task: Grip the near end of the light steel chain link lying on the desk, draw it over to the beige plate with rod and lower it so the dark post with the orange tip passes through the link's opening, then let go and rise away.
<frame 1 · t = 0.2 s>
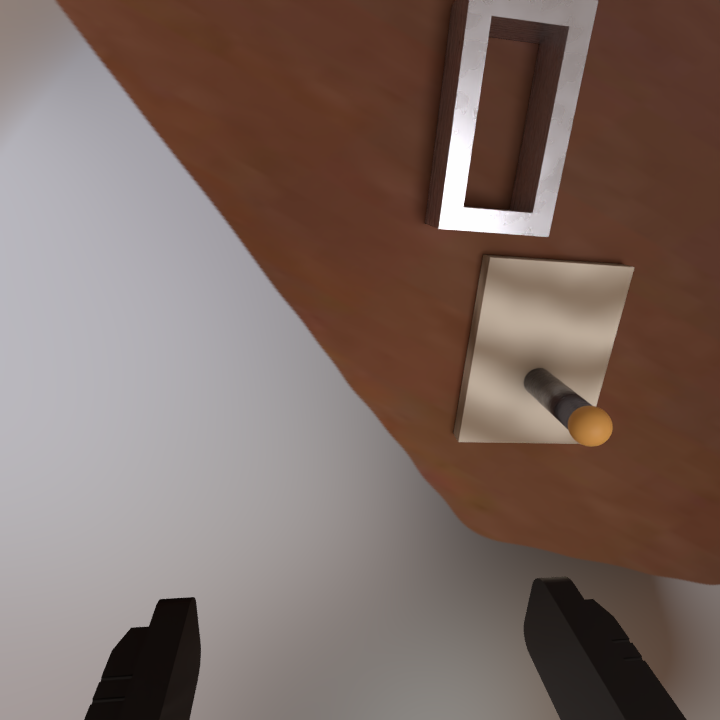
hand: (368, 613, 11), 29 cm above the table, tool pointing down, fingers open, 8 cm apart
beige plate with rod: (534, 352, 41), on the table
steel link: (491, 127, 35), on the table
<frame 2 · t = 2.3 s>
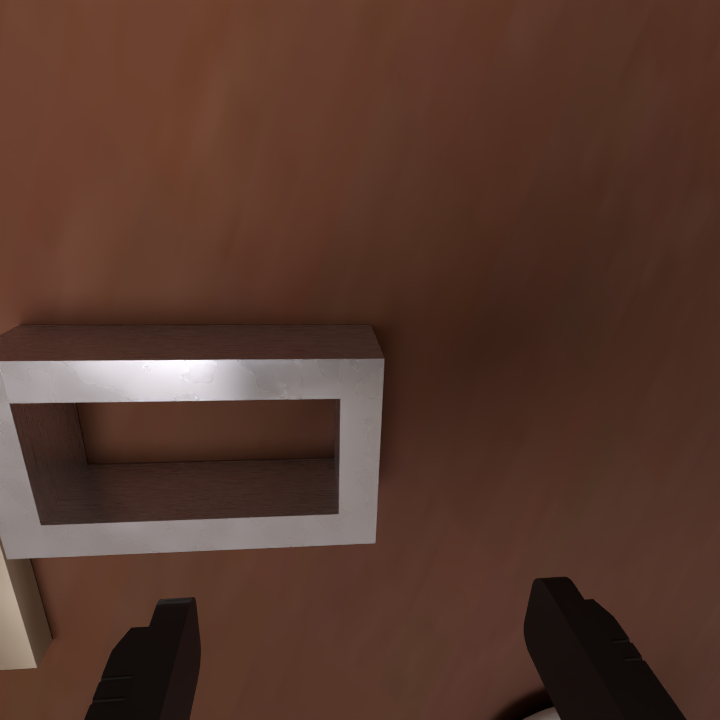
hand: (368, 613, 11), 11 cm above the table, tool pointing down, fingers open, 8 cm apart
steel link: (209, 412, 21), on the table
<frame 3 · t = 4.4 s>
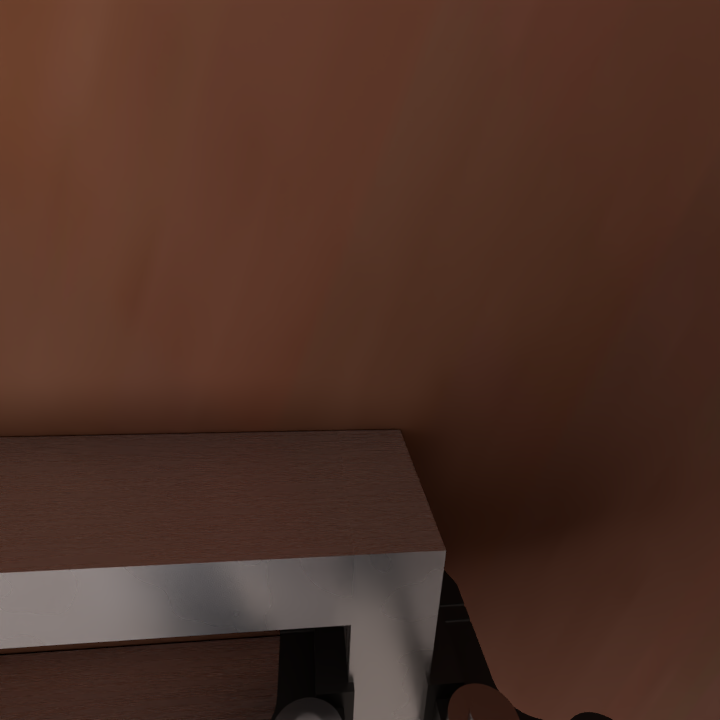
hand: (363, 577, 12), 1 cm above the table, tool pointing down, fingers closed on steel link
steel link: (115, 575, 12), on the table, touching gripper
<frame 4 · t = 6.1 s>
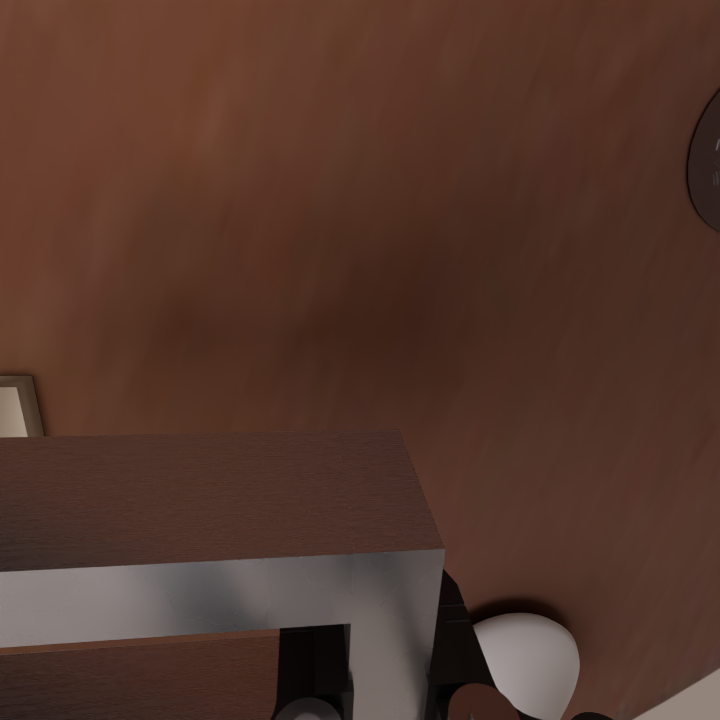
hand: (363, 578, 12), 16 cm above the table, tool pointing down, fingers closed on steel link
steel link: (116, 574, 12), point 15 cm above the table, touching gripper
flower in vase: (492, 643, 37), on the table
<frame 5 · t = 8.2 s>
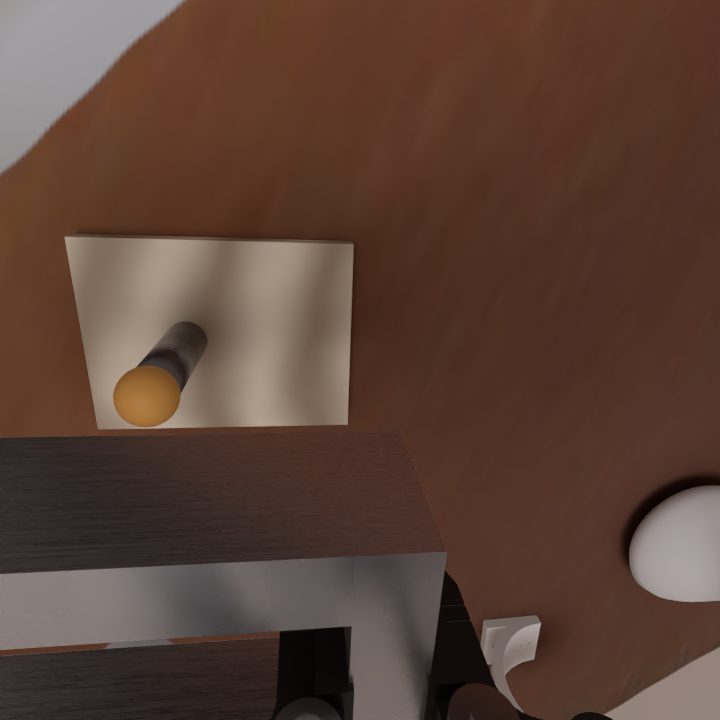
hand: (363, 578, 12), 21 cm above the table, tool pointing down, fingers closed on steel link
beige plate with rod: (224, 333, 31), on the table
steel link: (115, 575, 12), point 20 cm above the table, touching gripper
flower in vase: (676, 521, 41), on the table
headphone stand: (501, 634, 44), on the table
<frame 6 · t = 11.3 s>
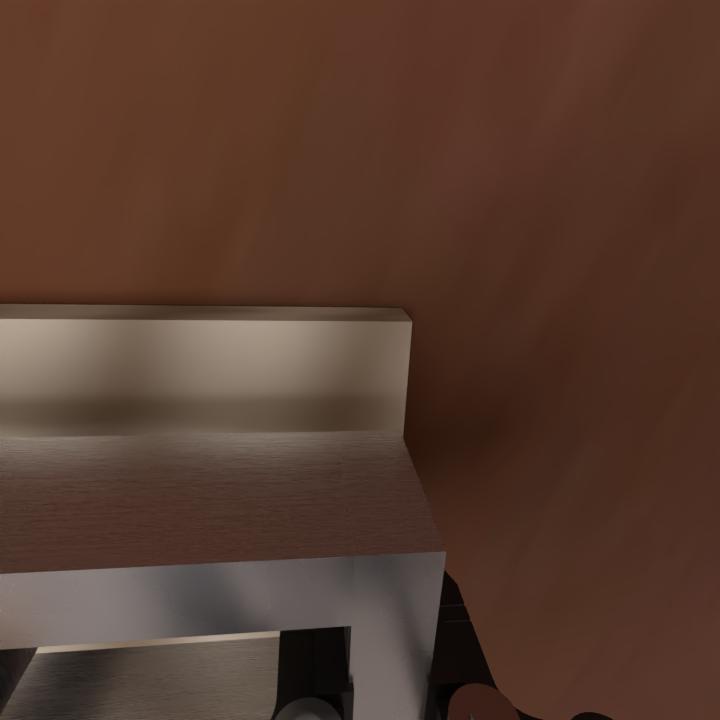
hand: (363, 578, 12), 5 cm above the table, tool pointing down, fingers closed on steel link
beige plate with rod: (149, 483, 16), on the table
steel link: (116, 575, 12), point 4 cm above the table, touching gripper
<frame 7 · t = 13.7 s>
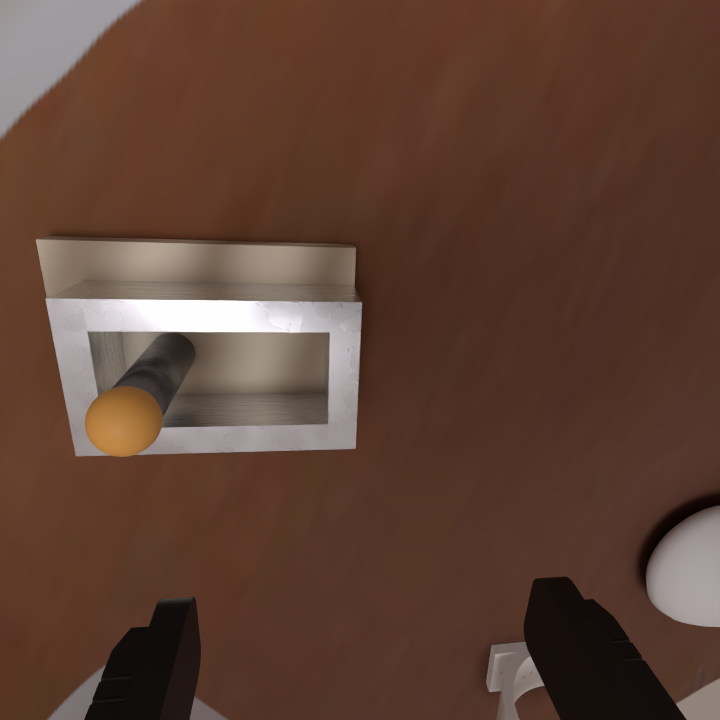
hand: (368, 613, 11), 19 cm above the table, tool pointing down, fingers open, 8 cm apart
beige plate with rod: (214, 344, 28), on the table
steel link: (227, 352, 27), point 1 cm above the table, touching beige plate with rod
flower in vase: (694, 540, 39), on the table
headphone stand: (509, 659, 42), on the table
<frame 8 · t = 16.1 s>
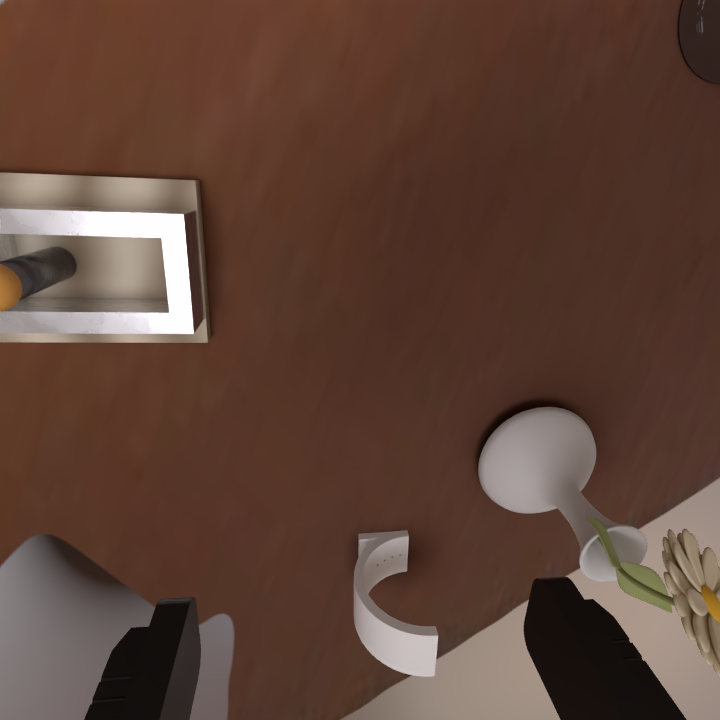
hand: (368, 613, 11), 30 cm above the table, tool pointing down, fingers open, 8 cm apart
beige plate with rod: (96, 260, 36), on the table
steel link: (101, 264, 35), point 1 cm above the table, touching beige plate with rod
flower in vase: (525, 444, 47), on the table
headphone stand: (377, 548, 49), on the table
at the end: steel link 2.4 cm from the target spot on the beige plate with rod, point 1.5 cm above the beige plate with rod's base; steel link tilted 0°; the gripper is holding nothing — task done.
